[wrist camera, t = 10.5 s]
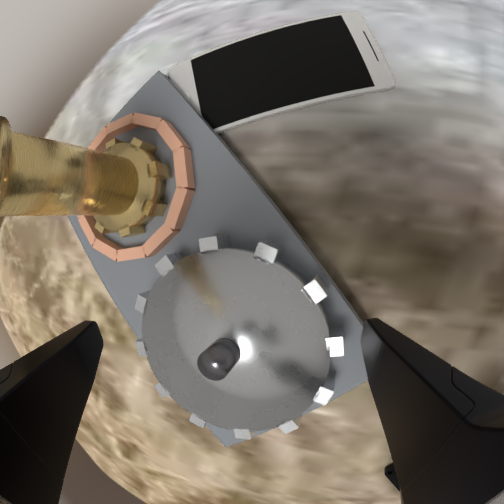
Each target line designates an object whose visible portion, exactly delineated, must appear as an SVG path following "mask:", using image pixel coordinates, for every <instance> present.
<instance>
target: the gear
mask: <svg viewBox="0 0 504 504" xmlns="http://www.w3.org/2000/svg"><path fill="white" fill-rule="evenodd" d="M199 246H200V252H197V253H194V254H192V255H189V256H186V257H185V255H184V254H183V253H182V252H178V253H172V254H167V255H165V256H164V257H163V258H162V259H161V260H160V261H159V262H158V263H156V264H155V265H154V266H155V267H156V269H157V270H158V272H159V273H160V275H161V276H160V277H159V278H158V279H157V281H156V282H155V284H154V285H153V287H152V289H151V290H149V291H146V292H143V293H140V294H138V296H137V301H136V305H135V309H136V310H137V311H139V312H141V313H142V314H143V317H142V338H140V339H139V340H137V341H135V344H136V348H137V352H138V356H143V357H147V359H148V362H149V364H150V366H151V369H152V371H153V373H154V374H155V376H156V378H157V380H158V381H159V382H158V383H157V384H156V385H154V387H155V389H156V390H157V391H158V393H159V394H160V395H161V396H162V398H165V397H167V396H169V395H170V396H171V398H172V399H173V400H175V401H176V402H177V403H178V404H179V405H180V406H181V407H183V408H184V409H185V410H186V411H188V412H189V413H191V414H192V415H191V417H190V420H189V421H191V422H192V423H194V424H196V425H198V426H200V427H202V428H203V427H204V426H205V425H206V423H209V424H212V425H215V426H218V427H221V428H225V429H229V430H234V433H235V438H239V439H252V437H253V435H254V433H255V431H263V430H268V429H272V428H276V427H279V428H280V429H281V431H282V432H283V433H284V434H286V433H289V432H291V431H293V430H295V429H298V428H299V426H300V422H301V418H302V414H303V413H304V412H305V411H306V410H307V409H308V408H309V407H310V406H311V405H312V404H313V402H314V401H315V402H317V403H320V404H322V405H325V406H326V404H327V403H328V401H329V399H330V398H331V396H332V395H333V393H334V389H335V376H334V375H332V374H329V373H328V371H329V365H330V358H331V357H332V356H344V340H343V325H338V326H330V322H329V318H328V315H327V312H326V309H325V307H324V305H323V303H322V301H321V300H322V299H324V298H325V297H327V295H328V289H329V288H328V286H327V285H326V284H325V282H324V281H323V280H322V278H321V277H320V276H319V274H318V273H317V274H315V275H314V276H313V277H311V278H310V279H309V280H307V279H306V278H305V277H304V276H303V275H302V274H301V273H299V272H298V271H297V270H296V269H295V268H294V267H292V266H291V265H289V264H288V263H286V262H285V261H283V260H281V259H280V258H281V255H282V253H283V250H284V248H285V247H283V246H281V245H279V244H276V243H274V242H272V241H269V240H265V241H260V242H259V243H258V245H257V248H256V249H252V248H247V247H231V244H230V237H229V235H221V236H213V237H207V238H200V239H199Z"/></svg>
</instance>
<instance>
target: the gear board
mask: <svg viewBox="0 0 504 504" xmlns="http://www.w3.org/2000/svg"><path fill="white" fill-rule="evenodd" d="M133 137H135V138H138V139H140V140H143V141H146V142H149V143H151V144H152V145H154V146H156V147H157V149H156V151H155V153H154V154H155V155H157V157H158V158H159V159H160V161H161V163H163V164H167V165H170V170H171V175H172V178H170V179H168V180H166V192H165V197H164V202H165V203H167V204H168V207H167V209H166V211H165V213H164V215H163V217H162V216H155V217H154V218H153V220H152V221H151V222H149V223H148V224H147V225H145V226H144V227H145V231H146V233H144V234H141V235H138V236H131V237H120V234H119V232H118V233H105V234H102V233H100V232H99V231H98V230H97V229H96V228H95V225H96V222H97V221H96V220H95V218H94V217H93V215H68V218H69V220H70V222H71V224H72V226H73V228H74V230H75V232H76V234H77V236H78V238H79V240H80V242H81V244H82V246H83V248H84V250H85V252H86V254H87V255H88V257H89V259H90V261H91V263H92V265H93V266H94V268H95V270H96V272H97V274H98V275H99V277H100V279H101V281H102V282H103V284H104V286H105V287H106V289H107V291H108V293H109V294H110V296H111V298H112V299H113V301H114V302H115V304H116V306H117V307H118V309H119V310H120V312H121V314H122V315H123V317H124V318H125V320H126V321H127V323H128V324H129V326H130V327H131V329H132V330H133V332H134V333H135V335H136V336H137V338H138V339H140V338H142V317H143V314H142V313H141V312H139V311H137V310H136V309H135V305H136V301H137V296H138V294H140V293H143V292H146V291H149V290H151V289H152V287H153V285H154V284H155V282H156V281H157V279H158V278H159V277H160V276H161V275H160V273H159V272H158V270H157V269H156V267H155V266H154V265H155V264H156V263H158V262H159V261H160V260H161V259H162V258H163V257H164V256H165V255H167V254H172V253H178V252H182V253H183V254H184V255H185V257H186V256H189V255H192V254H194V253H197V252H200V246H199V239H200V238H207V237H213V236H221V235H229V237H230V244H231V247H247V248H252V249H256V248H257V245H258V243H259V242H260V241H265V240H269V241H272V242H274V243H276V244H279V245H281V246H283V247H285V248H284V250H283V253H282V255H281V258H280V259H281V260H283V261H285V262H286V263H288V264H289V265H291V266H292V267H294V268H295V269H296V270H297V271H298V272H299V273H301V274H302V275H303V276H304V277H305V278H306V279H307V280H309V279H310V278H311V277H313V276H314V275H315V274H317V273H318V274H319V276H320V277H321V278H322V280H323V281H324V282H325V284H326V285H327V286H328V288H329V289H328V295H327V297H325V298H324V299H322V300H321V301H322V303H323V305H324V307H325V309H326V312H327V315H328V318H329V322H330V326H338V325H343V340H344V356H332V357H331V358H330V365H329V371H328V373H329V374H332V375H334V376H335V389H334V393H333V395H332V396H331V398H330V399H329V401H328V402H330V401H332V400H333V399H335V398H337V397H339V396H341V395H343V394H344V393H346V392H348V391H350V390H351V389H353V388H355V387H357V386H358V385H360V384H362V383H363V382H365V381H367V380H368V377H367V372H366V368H365V363H364V358H363V354H362V349H361V344H360V339H361V334H362V330H363V325H364V323H363V321H362V320H361V318H360V317H359V315H358V314H357V313H356V311H355V310H354V308H353V307H352V306H351V304H350V303H349V301H348V300H347V299H346V297H345V296H344V294H343V293H342V292H341V290H340V289H339V287H338V286H337V285H336V283H335V282H334V281H333V279H332V278H331V277H330V275H329V274H328V272H327V271H326V270H325V268H324V267H323V266H322V264H321V263H320V262H319V260H318V259H317V258H316V256H315V255H314V254H313V252H312V251H311V250H310V248H309V247H308V246H307V244H306V243H305V242H304V240H303V239H302V238H301V236H300V235H299V234H298V233H297V231H296V230H295V229H294V227H293V226H292V225H291V224H290V222H289V221H288V220H287V218H286V217H285V216H284V215H283V213H282V212H281V211H280V209H279V208H278V207H277V206H276V204H275V203H274V202H273V201H272V199H271V198H270V197H269V196H268V194H267V193H266V192H265V191H264V189H263V188H262V187H261V186H260V184H259V183H258V182H257V181H256V179H255V178H254V177H253V176H252V174H251V173H250V172H249V171H248V170H247V168H246V167H245V166H244V165H243V163H242V162H241V161H240V160H239V159H238V157H237V156H236V155H235V154H234V153H233V151H232V150H231V149H230V148H229V147H228V145H227V144H226V143H225V142H224V141H223V139H222V138H221V137H220V136H219V135H218V134H217V133H216V132H215V131H214V130H213V129H212V128H211V126H210V125H209V124H208V123H207V122H206V121H205V119H204V118H203V117H202V116H201V115H200V114H199V113H198V111H197V110H196V109H195V108H194V107H193V106H192V105H191V103H190V102H189V101H188V100H187V99H186V98H185V97H184V96H183V95H182V93H181V92H180V91H179V90H178V89H177V88H176V87H175V85H174V84H173V83H172V82H171V81H170V79H169V78H168V77H167V76H165V75H164V74H163V73H161V72H160V71H158V72H157V73H156V74H155V75H154V76H153V77H152V78H151V79H150V80H149V81H148V82H147V83H146V84H145V85H144V86H143V87H142V88H141V89H140V90H139V91H138V92H137V93H136V94H135V95H134V96H133V97H132V98H131V99H130V100H129V101H128V103H127V104H126V105H125V106H124V107H123V108H122V109H121V110H120V112H119V113H118V114H117V115H116V116H115V117H114V118H113V120H112V121H111V122H110V123H109V124H107V127H106V126H105V127H104V128H103V129H102V130H101V132H100V133H99V134H98V135H97V137H96V138H95V139H94V141H93V142H92V143H91V144H90V146H89V147H88V148H89V149H93V150H97V151H101V152H104V151H105V150H106V143H107V142H109V141H111V140H112V139H114V138H115V139H119V140H122V141H125V142H128V143H131V141H132V139H133ZM320 406H322V404H320V403H317V402H315V401H314V402H313V404H312V405H311V406H310V407H309V408H308V409H307V410H306V411H305V412H304V413H303V414H302V415H304V414H306V413H308V412H310V411H312V410H314V409H316V408H318V407H320ZM206 426H207V427H208V428H209V430H210V431H211V432H212V433H213V434H214V435H215V436H216V437H217V438H218V439H219V440H220V441H221V443H222V444H223V445H224V446H225V447H228V446H231V445H234V444H236V443H239V442H242V441H244V440H247V439H239V438H235V433H234V430H229V429H225V428H221V427H218V426H215V425H212V424H209V423H206ZM272 429H274V428H272ZM269 430H271V429H268V430H263V431H255V433H254V435H253V437H255V436H257V435H259V434H262V433H264V432H267V431H269Z"/></svg>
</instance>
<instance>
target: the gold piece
mask: <svg viewBox="0 0 504 504" xmlns="http://www.w3.org/2000/svg"><path fill="white" fill-rule="evenodd" d="M156 149H157V147H156V146H154V145H152V144H151V143H149V142H146V141H143V140H140V139H138V138H135V137H133V139H132V141H131V143H128V142H125V141H122V140H119V139H115V138H114V139H112V140H111V141H109V142H107V143H106V150H105V151H104V152H101V151H97V150H93V149H89V148H85V147H81V146H77V145H72V144H68V143H63V142H59V141H55V140H50V139H45V138H41V137H36V136H31V135H26V134H21V133H16V132H11V128H10V124H9V121H8V120H7V118H5V117H3V116H0V216H40V215H93V217H94V218H95V220H96V221H97V222H96V225H95V228H96V229H97V230H98V231H99V232H100V233H102V234H105V233H118V232H119V234H120V237H131V236H138V235H141V234H144V233H146V231H145V227H144V226H145V225H147V224H148V223H149V222H151V221H152V220H153V218H154V217H155V216H162V217H163V215H164V213H165V211H166V209H167V207H168V204H167V203H165V202H164V197H165V192H166V180H168V179H170V178H172V175H171V170H170V165H167V164H163V163H161V161H160V159H159V158H158V157H157V155H155V154H154V153H155V151H156Z"/></svg>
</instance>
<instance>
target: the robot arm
mask: <svg viewBox="0 0 504 504" xmlns="http://www.w3.org/2000/svg"><path fill="white" fill-rule="evenodd" d="M360 344H361V349H362V354H363V358H364V363H365V368H366V372H367V377H368V381H369V385H370V388H371V391H372V394H373V397H374V401H375V404H376V407H377V410H378V413H379V416H380V419H381V423H382V426H383V429H384V432H385V436H386V439H387V442H388V446H389V449H390V453H391V456H392V460H393V463H394V464H393V465H390V466H388V467H387V468H386V469H385V475H386V477H387V478H388V479H389V480H390V481H391V482H392V483H393V485H394V486H395V487H396V488H397V489H398V490H399V491H400V494H401V504H504V395H502V394H500V393H499V392H497V391H495V390H493V389H491V388H489V387H487V386H485V385H483V384H481V383H480V382H478V381H476V380H474V379H472V378H471V377H469V376H468V375H466V374H464V373H463V372H461V371H459V370H458V369H456V368H455V367H452V366H451V365H450V364H449V363H447V362H445V361H444V360H442V359H441V358H439V357H438V356H436V355H435V354H433V353H431V352H430V351H428V350H427V349H425V348H424V347H422V346H421V345H419V344H417V343H416V342H414V341H413V340H411V339H410V338H408V337H406V336H405V335H403V334H402V333H400V332H399V331H397V330H395V329H394V328H392V327H391V326H389V325H388V324H386V323H384V322H383V321H381V320H380V319H378V318H371V319H366V320H365V322H364V325H363V330H362V334H361V339H360ZM102 349H103V338H102V336H101V333H100V330H99V327H98V325H97V323H96V322H95V321H87V320H86V321H83V322H82V323H80V324H78V325H76V326H75V327H73V328H71V329H69V330H68V331H66V332H64V333H62V334H61V335H59V336H57V337H55V338H54V339H52V340H50V341H49V342H47V343H45V344H43V345H42V346H40V347H38V348H37V349H35V350H33V351H31V352H30V353H28V354H26V355H25V356H23V357H21V358H20V359H18V360H16V361H14V363H11V364H10V365H8V366H6V367H4V368H3V369H1V370H0V504H58V503H59V499H60V494H61V490H62V486H63V481H64V480H63V479H64V477H65V473H66V469H67V465H68V461H69V457H70V454H71V450H72V447H73V444H74V440H75V437H76V434H77V430H78V427H79V424H80V421H81V418H82V415H83V412H84V409H85V406H86V403H87V400H88V397H89V394H90V391H91V388H92V385H93V382H94V379H95V376H96V372H97V368H98V364H99V360H100V356H101V352H102Z"/></svg>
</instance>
